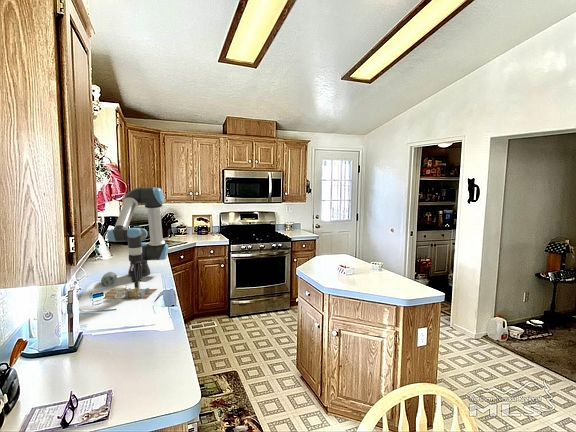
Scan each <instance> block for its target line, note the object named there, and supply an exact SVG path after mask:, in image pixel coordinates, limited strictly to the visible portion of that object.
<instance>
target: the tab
mask: <svg viewBox="0 0 576 432" xmlns="http://www.w3.org/2000/svg"><path fill="white" fill-rule="evenodd" d="M131 289H132V290H131V291H130V298H137V297H139V292H140V289H141V288H140V289H135V288H131Z"/></svg>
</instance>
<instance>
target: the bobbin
mask: <svg viewBox="0 0 576 432" xmlns="http://www.w3.org/2000/svg"><path fill="white" fill-rule="evenodd" d="M127 287H128V286H127V285H125V284H123V285H122V284H120V285H116V286H114V287H113V289H114V290H116V293H117V295H115V296H114V298H115V299H114V300H124V299H123V298H126V295H125V289H128V288H127Z"/></svg>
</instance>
